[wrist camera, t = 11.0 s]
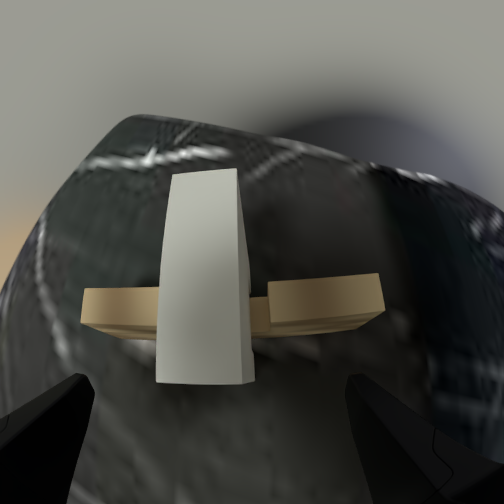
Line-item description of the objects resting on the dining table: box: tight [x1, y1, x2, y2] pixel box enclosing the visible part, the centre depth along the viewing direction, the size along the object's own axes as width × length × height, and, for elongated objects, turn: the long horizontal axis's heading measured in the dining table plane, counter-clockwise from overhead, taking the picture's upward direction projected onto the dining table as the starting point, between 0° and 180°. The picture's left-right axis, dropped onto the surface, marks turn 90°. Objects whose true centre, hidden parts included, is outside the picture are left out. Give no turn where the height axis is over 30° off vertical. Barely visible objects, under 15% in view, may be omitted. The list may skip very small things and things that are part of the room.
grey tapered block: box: [156, 169, 255, 385], centre depth 13 cm, size 8×2×10 cm, turn 2°
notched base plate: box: [81, 273, 385, 340], centre depth 15 cm, size 16×2×5 cm, turn 93°
